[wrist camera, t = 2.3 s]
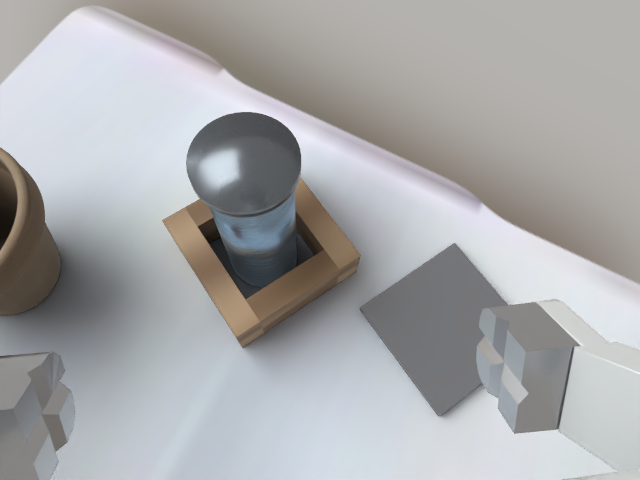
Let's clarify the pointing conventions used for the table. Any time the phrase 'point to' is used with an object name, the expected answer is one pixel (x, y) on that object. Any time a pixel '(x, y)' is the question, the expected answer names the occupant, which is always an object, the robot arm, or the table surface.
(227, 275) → the bore block
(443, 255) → the mat
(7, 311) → the flower pot
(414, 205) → the table surface
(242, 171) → the plunger
